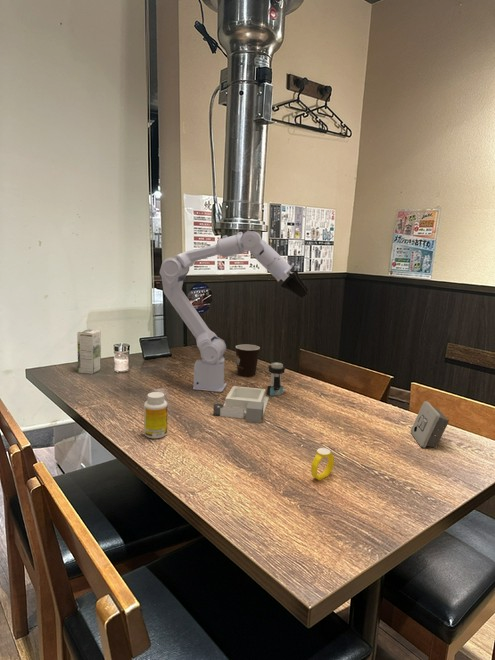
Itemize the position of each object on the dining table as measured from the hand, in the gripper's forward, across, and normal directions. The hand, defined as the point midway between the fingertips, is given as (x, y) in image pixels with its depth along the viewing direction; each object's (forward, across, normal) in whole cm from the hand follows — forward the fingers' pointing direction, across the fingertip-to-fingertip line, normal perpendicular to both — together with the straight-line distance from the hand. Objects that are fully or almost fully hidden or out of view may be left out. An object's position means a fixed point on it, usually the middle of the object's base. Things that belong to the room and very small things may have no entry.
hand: (305, 294), depth 130 cm
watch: (+27, -47, +20) cm, 58 cm away
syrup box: (-34, +4, +72) cm, 80 cm away
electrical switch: (+46, -23, +3) cm, 52 cm away
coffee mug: (+6, +19, +38) cm, 43 cm away
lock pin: (+8, -21, +36) cm, 42 cm away
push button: (+16, 0, +29) cm, 33 cm away
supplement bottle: (-4, -37, +46) cm, 59 cm away
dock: (+10, -14, +34) cm, 38 cm away
